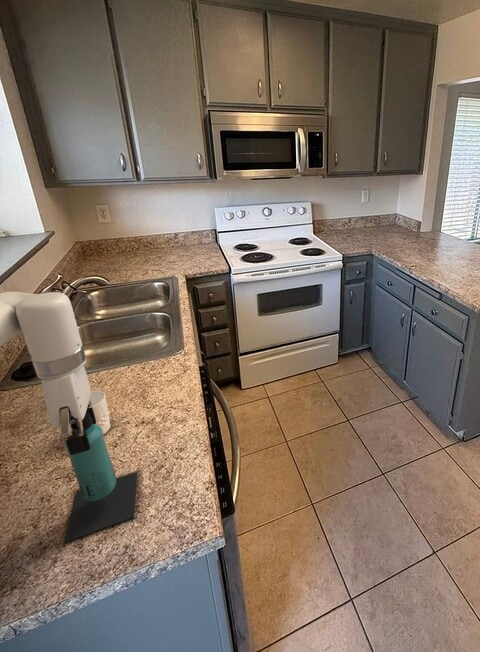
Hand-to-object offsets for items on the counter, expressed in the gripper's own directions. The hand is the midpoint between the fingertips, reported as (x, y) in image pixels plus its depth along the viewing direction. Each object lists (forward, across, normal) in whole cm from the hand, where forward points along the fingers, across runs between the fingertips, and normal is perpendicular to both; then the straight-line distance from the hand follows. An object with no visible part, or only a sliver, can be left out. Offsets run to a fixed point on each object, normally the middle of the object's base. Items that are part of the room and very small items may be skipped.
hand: (84, 437), depth 70 cm
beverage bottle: (+15, 0, 0) cm, 15 cm away
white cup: (+18, -26, -5) cm, 32 cm away
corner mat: (+18, 0, 0) cm, 18 cm away
